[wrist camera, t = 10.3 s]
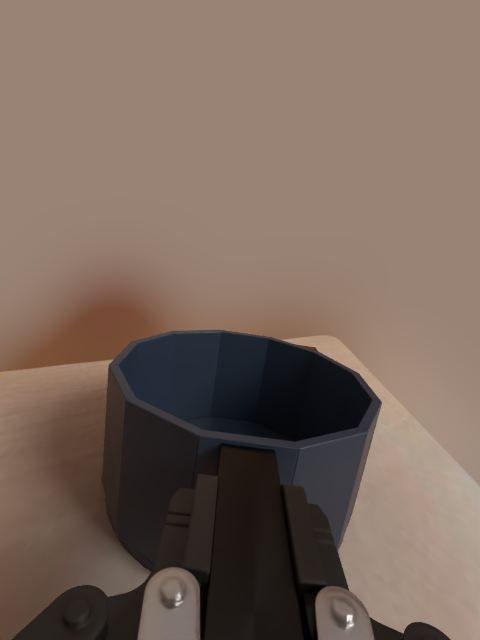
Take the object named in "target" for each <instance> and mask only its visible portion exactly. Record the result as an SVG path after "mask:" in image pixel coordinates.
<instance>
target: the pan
mask: <svg viewBox="0 0 480 640" xmlns="http://www.w3.org/2000/svg"><path fill="white" fill-rule="evenodd" d="M381 404H382V402H381V401H380V399H379V398H378V397H377V396H376V394H375V393H374V392H373V391H372V389H371V388H370V387H369V386H368V384H367V383H366V382H365V381H364V379H363V378H362V377H361V376H360V374H359V373H357V372H355V371H353V370H351V369H350V368H348V367H346V366H344V365H342V364H340V363H338V362H337V361H335V360H333V359H331V358H329V357H327V356H325V355H323V354H322V353H320V352H317V351H315V350H312V349H308V348H305V347H302V346H298V345H295V344H292V343H288V342H285V341H282V340H278V339H275V338H272V337H266V336H259V335H252V334H244V333H238V332H231V331H224V330H199V331H171V332H167V333H163V334H159V335H156V336H152V337H148V338H144V339H140V340H136V341H132V342H130V343H129V344H128V346H127V347H126V348H125V349H124V350H123V351H122V352H121V353H120V354H119V355H118V356H117V357H116V358H115V359H114V360H113V361H112V362H111V363H110V364H109V369H108V386H107V404H106V421H105V439H104V456H103V473H102V483H103V487H104V491H105V495H106V506H107V512H108V516H109V519H110V522H111V524H112V527H113V529H114V531H115V532H116V534H117V536H118V538H119V539H120V541H121V542H122V544H123V545H124V546H125V547H126V548H127V550H128V551H129V552H130V553H131V555H133V556H134V557H135V558H136V559H137V560H138V561H139V562H141V563H142V564H143V565H144V566H145V567H146V568H148V569H150V570H151V571H152V570H153V567H154V563H155V560H156V556H157V552H158V548H159V544H160V540H161V536H162V532H163V528H164V525H165V521H166V517H167V514H168V509H169V505H170V501H171V498H172V497H173V496H174V494H175V493H176V492H177V491H178V490H179V489H180V488H187V489H195V488H196V482H197V476H198V474H206V475H214V476H218V487H217V498H216V509H215V520H214V532H213V543H212V554H211V565H210V574H209V580H208V584H207V590H206V596H205V603H204V609H203V615H202V622H201V628H200V640H304V633H303V627H302V620H301V614H300V607H299V601H298V594H297V588H296V582H295V575H294V569H293V562H292V556H291V549H290V543H289V536H288V530H287V523H286V516H285V510H284V503H283V497H282V490H281V485H282V484H286V485H294V486H302V487H304V490H305V494H306V498H307V502H308V504H316V505H318V506H319V507H320V508H321V509H322V511H323V512H324V513H325V515H326V516H327V518H328V521H329V524H330V528H331V534H332V535H333V538H334V541H335V546H336V548H337V551H338V550H339V548H340V546H341V544H342V541H343V537H344V533H345V531H346V528H347V526H348V523H349V520H350V518H351V515H352V512H353V508H354V505H355V501H356V497H357V494H358V490H359V486H360V482H361V479H362V475H363V471H364V467H365V464H366V460H367V456H368V453H369V449H370V445H371V441H372V438H373V434H374V430H375V427H376V423H377V419H378V415H379V412H380V408H381Z"/></svg>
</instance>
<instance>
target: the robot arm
mask: <svg viewBox="0 0 480 640" xmlns="http://www.w3.org/2000/svg"><path fill="white" fill-rule="evenodd" d="M217 487H218V476H214V475H206V474H198V476H197V482H196V488H195V489H187V488H180V489H179V490H178V491H177V492H176V493H175V494H174V496H173V497H172V498H171V501H170V505H169V509H168V514H167V517H166V521H165V525H164V528H163V532H162V536H161V540H160V544H159V548H158V552H157V556H156V560H155V563H154V567H153V570H152V572H151V574H150V576H149V577H148V579H147V580H146V581H145V582H144V583H143V584H142V585H141V586H139V587H138V588H136V589H135V590H133V591H130V592H128V593H124V594H120V595H116V596H111V597H107V596H106V595H105V593H104V592H103V591H102V590H101V589H99V588H97V587H94V586H90V585H82V586H77V587H74V588H71V589H69V590H67V591H66V592H64V593H62V594H61V595H60V596H59V597H57V598H56V599H55V600H54V601H53V602H52V603H51V604H50V605H49V606H48V607H47V608H45V609H44V610H43V611H42V612H41V613H40V614H39V615H38V616H37V617H36V618H35V619H34V620H32V621H31V622H30V623H29V624H28V625H27V626H26V627H25V628H24V629H23V630H22V631H20V632H19V633H18V634H17V635H16V636H15V637H14V638H13V639H12V640H200V628H201V622H202V615H203V609H204V603H205V596H206V590H207V584H208V580H209V574H210V565H211V554H212V543H213V532H214V520H215V509H216V498H217ZM281 490H282V497H283V503H284V510H285V516H286V523H287V530H288V536H289V543H290V549H291V556H292V562H293V569H294V575H295V582H296V588H297V594H298V601H299V607H300V614H301V620H302V627H303V633H304V640H450V639H449V638H448V637H447V636H446V635H445V634H444V633H443V632H441V631H440V630H438V629H437V628H435V627H433V626H431V625H429V624H426V623H422V622H415V623H411V624H409V625H408V626H407V627H406V629H405V631H404V634H403V633H401V632H398V631H396V630H394V629H392V628H389V627H387V626H385V625H383V624H381V623H379V622H377V621H375V620H373V619H372V618H370V617H369V614H368V612H367V610H366V608H365V606H364V605H363V603H362V602H361V601H360V600H359V599H358V598H357V597H356V596H355V595H354V594H353V593H351V592H350V591H349V589H348V585H347V582H346V579H345V575H344V572H343V568H342V565H341V562H340V558H339V555H338V551H337V548H336V546H335V541H334V538H333V535H332V534H331V528H330V524H329V521H328V518H327V516H326V515H325V513H324V512H323V511H322V509H321V508H320V507H319V506H318V505H316V504H308V502H307V498H306V494H305V490H304V487H302V486H294V485H286V484H282V485H281Z"/></svg>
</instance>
